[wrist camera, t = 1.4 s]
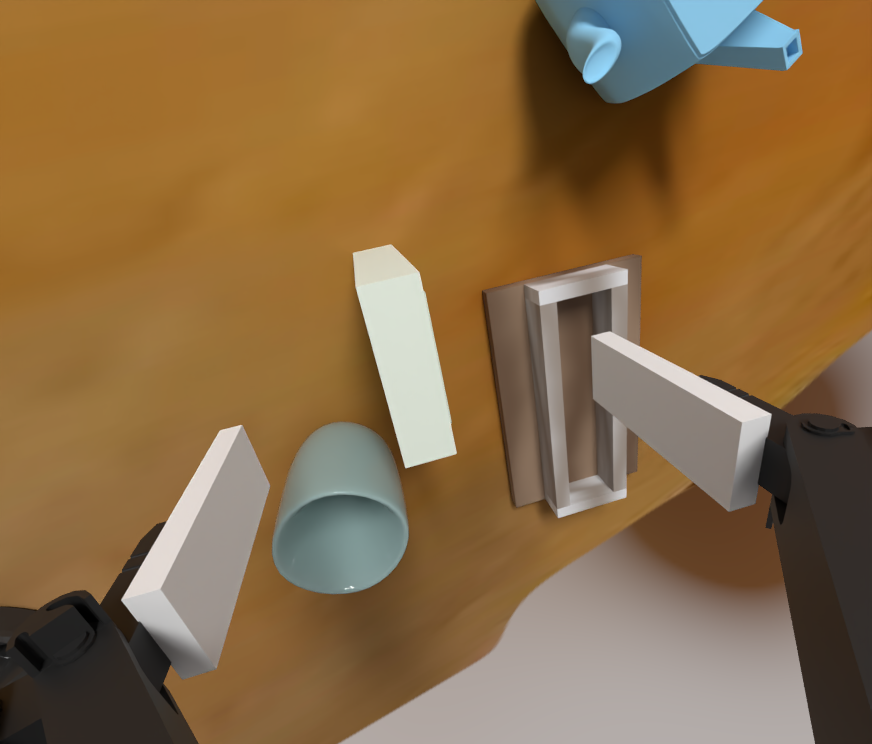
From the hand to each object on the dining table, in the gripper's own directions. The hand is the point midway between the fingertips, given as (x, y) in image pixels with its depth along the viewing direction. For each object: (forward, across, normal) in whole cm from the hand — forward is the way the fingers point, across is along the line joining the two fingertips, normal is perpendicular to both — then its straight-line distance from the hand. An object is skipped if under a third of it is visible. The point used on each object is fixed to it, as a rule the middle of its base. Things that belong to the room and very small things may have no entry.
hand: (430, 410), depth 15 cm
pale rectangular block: (+15, 0, 0) cm, 15 cm away
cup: (+15, -6, -10) cm, 19 cm away
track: (+15, +12, -10) cm, 22 cm away
